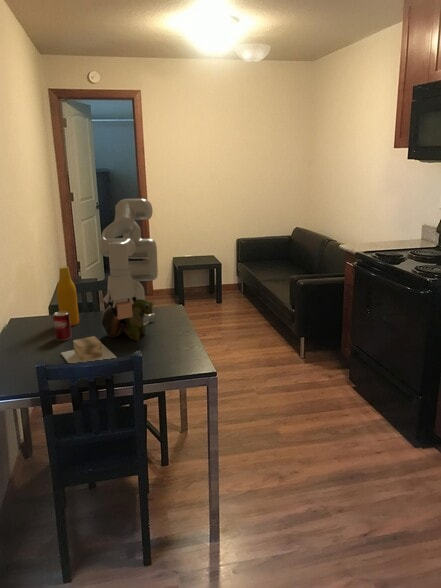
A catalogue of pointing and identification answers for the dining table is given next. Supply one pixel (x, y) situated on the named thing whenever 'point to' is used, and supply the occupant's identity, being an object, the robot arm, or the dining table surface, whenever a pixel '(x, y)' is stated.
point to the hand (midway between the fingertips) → (122, 314)
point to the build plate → (72, 358)
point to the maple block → (87, 348)
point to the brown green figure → (127, 321)
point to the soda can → (62, 325)
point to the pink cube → (124, 309)
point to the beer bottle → (67, 295)
